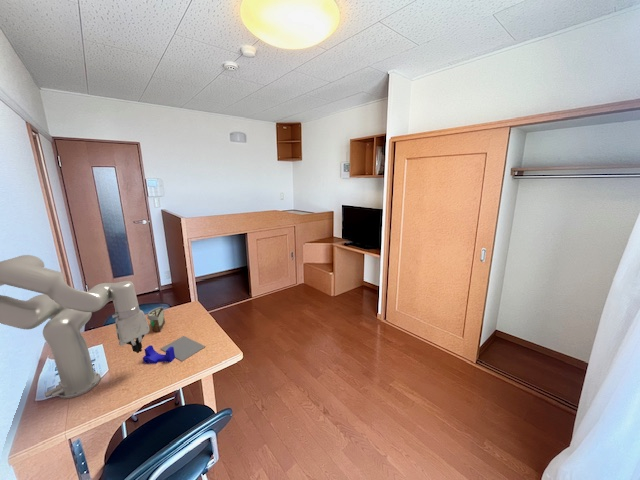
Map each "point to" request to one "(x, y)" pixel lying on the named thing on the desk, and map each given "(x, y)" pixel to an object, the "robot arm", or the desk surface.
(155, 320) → the food container
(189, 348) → the pad
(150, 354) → the blue angular piece
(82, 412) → the desk surface
